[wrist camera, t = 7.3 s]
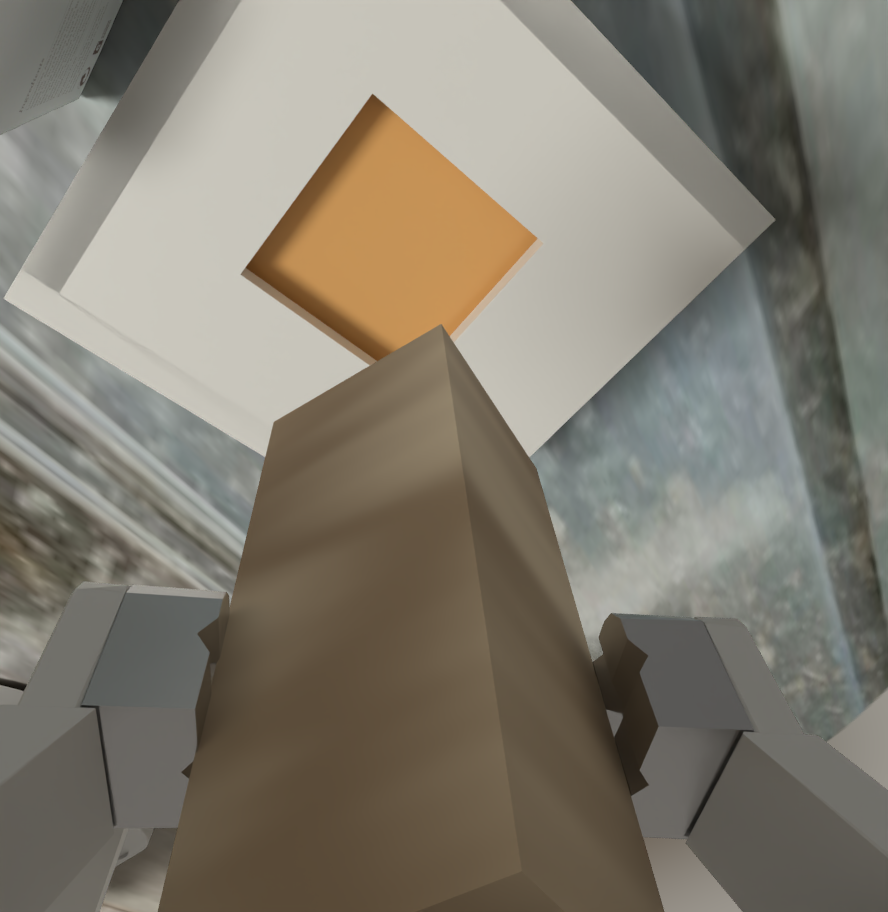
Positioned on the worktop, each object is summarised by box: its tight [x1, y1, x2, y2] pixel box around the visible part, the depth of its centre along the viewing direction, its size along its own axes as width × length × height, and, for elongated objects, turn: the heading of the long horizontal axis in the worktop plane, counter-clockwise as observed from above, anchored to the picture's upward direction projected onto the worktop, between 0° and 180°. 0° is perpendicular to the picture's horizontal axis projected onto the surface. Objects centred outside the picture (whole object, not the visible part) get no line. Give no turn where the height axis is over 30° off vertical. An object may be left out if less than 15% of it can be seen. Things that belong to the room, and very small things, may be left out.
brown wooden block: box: [158, 324, 664, 912], centre depth 9 cm, size 3×3×8 cm
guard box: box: [4, 0, 775, 457], centre depth 23 cm, size 14×14×7 cm
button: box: [245, 94, 538, 361], centre depth 22 cm, size 8×8×3 cm
